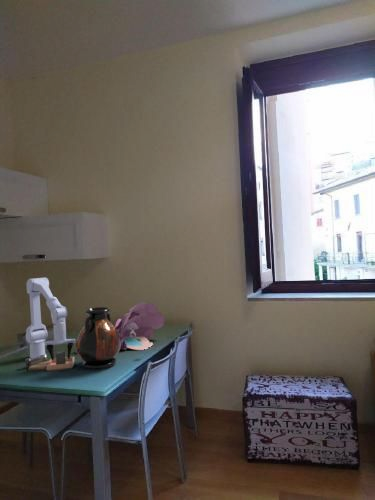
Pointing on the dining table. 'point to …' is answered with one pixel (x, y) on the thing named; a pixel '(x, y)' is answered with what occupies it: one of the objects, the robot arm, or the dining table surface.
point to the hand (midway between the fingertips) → (60, 358)
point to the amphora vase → (98, 340)
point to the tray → (53, 366)
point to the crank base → (39, 365)
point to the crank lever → (35, 360)
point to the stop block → (60, 358)
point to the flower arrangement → (139, 326)
